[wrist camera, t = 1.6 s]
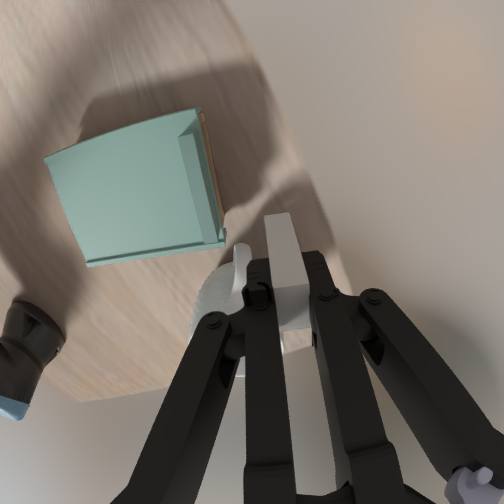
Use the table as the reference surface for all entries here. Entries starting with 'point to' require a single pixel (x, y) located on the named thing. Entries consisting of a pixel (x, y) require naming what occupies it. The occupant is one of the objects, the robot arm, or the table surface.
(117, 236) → the lid
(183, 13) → the table surface
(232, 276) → the mug
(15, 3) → the table surface
